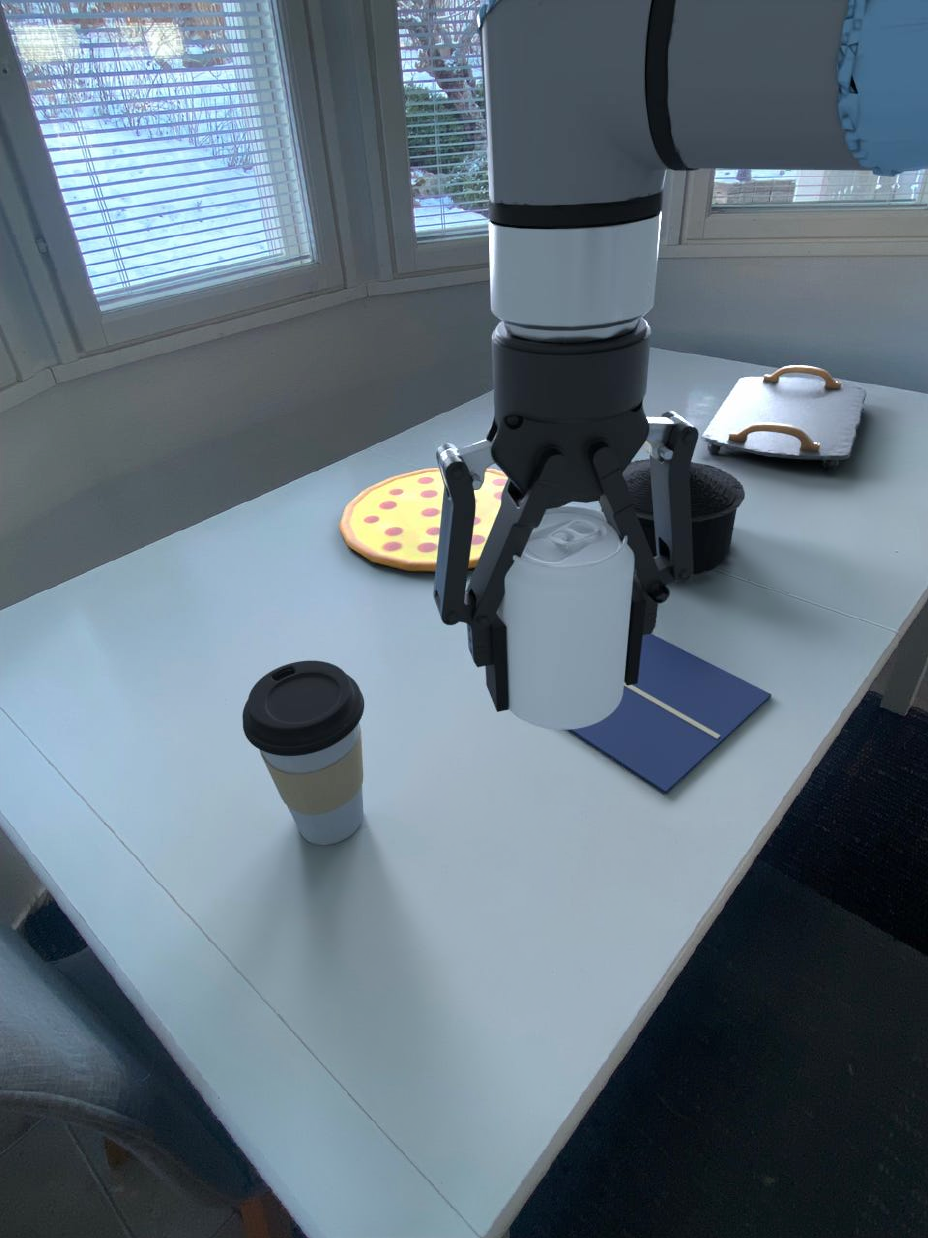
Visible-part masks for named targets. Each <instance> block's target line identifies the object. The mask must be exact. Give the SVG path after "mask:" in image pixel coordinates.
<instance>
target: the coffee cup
mask: <svg viewBox="0 0 928 1238" xmlns="http://www.w3.org/2000/svg"><path fill="white" fill-rule="evenodd" d="M364 711H365V698H364V695H363V693H362V691H361V689H360V685H358V683H357V682H356V680H355V679H354V678H353V677H351V675H349V674H347V672H345V671H344V670H343V669H342V668H340V667H339V666H337V665H335V664H333V663H331V662H327V661H322V660H311V659H310V660H300V661H294V662H290V663H287V664H283V665H281V666H279V667H277V668H275V669H273V670H271V671H269V672H267V673H266V674H265V675H263V676H262V677H261V678H260V679H258V681H256V683H255V684H254V685H253V687H252V688H251V690H250V692H249V695H248V696H247V700H246V702H245V704H244V707H243V710H242V716H241V717H242V730H243V733H244V735H245V738H246V739H247V740H248V742H249V743H250V744H251V745H252V746H254V747H255V748H256V749H258V750H259V752H260V756H261V758H262V760H263V762H264V764H265V767H266V768H267V771H268V773H269V775H270V777H271V779H272V781H273V783H274V785H275V788H276V790H277V792H278V794H279V796H280V798H281V800H282V801H283V804H285V805H286V807H287V809H288V812H289V813H290V815H291V817H292V820H293V822H294V823H295V825H296V828H297V829H298V831H299V833H300V834H301V836H302V837H303V838H304V839H305V840H306V841H308V842H309V843H311V844H314V845H317V846H331V845H335V844H337V843H341V842H343V841H344V840H346V839H348V838H349V837H350V836H352V835H353V834H354V833H355V832H356V831H357V830H359V827H360V826H361V825H362V822H363V819H364V815H365V814H364V812H365V811H364V796H363V795H364V793H363V792H364V791H363V783H364V761H363V759H364V758H363V743H362V742H363V741H362V729H361V724H360V721H361V719H362V717H363V715H364Z"/></svg>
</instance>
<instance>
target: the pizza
mask: <svg viewBox="0 0 928 1238" xmlns="http://www.w3.org/2000/svg"><path fill="white" fill-rule="evenodd" d="M507 479H508V477H507V476H506V475H505V474H504V473H503V471H502V470H500V469H499V470H498V469H495V468H487V470H486V472H485V479H484V483H483V484H482V487H481V488H480V489H479V490H474V494H475V501H476V510H475V520H474V528H473V535H472V543H471V551H470V559H469V566H468V570H469V569H475V568H476V565H477V563H478V560H479V558H480V556H481V553H482V551H483V548H484V546H485V543H486V541H487V538H488V536H489V533H490V531H491V528H492V526H493V523H494V521H495V518H496V516H497V514H498V511H499V509H500V506H501V495H502V492H503V489H504V486H505V484H506V481H507ZM443 493H444V484H443V480H442V476H441V473H440V469H439V467H433V468H432V467H431V468H423V469H420V470H414V471H412V472H406V473H403V474H399V475H393V476H391V477H389V478H386V479H384V480H383V481H380V482H378V483H375V484H374V485H371V486H369V487H367V488H365V489H363V490H362V491H361V492H360V493H359V494H358V495H357V496H356V497H354V498H353V499H352V500H351V501H350V502H349V503H348V504H346V505H345V507H344V510H343V513H342V516H341V519H340V522H339V525H338V529H339V530H340V532H341V535H342V536H343V539H344V542H345V543H346V545H347V547H349V548H350V549H351V550H353V551H354V552H356V553H358V555H359V554H360V555H361V556H363V557H364V558H365V559H367V560H369V561H370V562H372V563H375V564H379V565H384V566H386V567H387V566H388V567H391V568H396V569H399V570H403V571H407V572H436V562H437V552H438V542H439V532H440V522H441V512H442V502H443Z"/></svg>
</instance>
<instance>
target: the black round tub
mask: <svg viewBox="0 0 928 1238" xmlns="http://www.w3.org/2000/svg"><path fill="white" fill-rule="evenodd" d="M622 474H623V477H624V479H625V482H626V484H627V487H628V489H629V492H630V494H631V497H632V499H633V502H634V504H633V507H634V510H635V512H636V515H637V517H638V520H639V522H640V525H641V527H642V530H643V532H644V535H645V537H646V540H647V542H648V545H649V547H650V550H651V552H652V555H653V557H656V556H657V550H656V538H655V525H654V512H653V500H652V487H651V474H650V458H646V459H640V460H633V461H631V462H630V463H629V465H628V466H627V468H626V469H625V470H624V472H623V473H622ZM689 475H690V499H691V522H692V545H693V569H694V572H693V575H692V576H696V575H700V574H703V573H706V572H709V571H711V570H713V569H715V568H717V567H718V566H720V565H721V564H722V563H723V562H724V561H725V560H726V558H727V557H728V555H729V554H730V549H731V543H732V538H733V533H734V527H735V522H736V516H737V515H736V514H737V509H738V508H739V507H740V506H741V505H742V503H743V501H744V500H745V496H746V492H745V489H744V486H743V484H742V483H741V481H739V480H738V479H737V478H736V477H735V476H733V475H732V474H731V473H728V472H727V471H725V470H723V469H721V468H718V467H715V466H713V465H710V464H706V463H705V464H704V463H701V462H700V463H699V462H694V461H691V463H690V467H689ZM600 511H601V512H603V510H602V508H601V510H600Z"/></svg>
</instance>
